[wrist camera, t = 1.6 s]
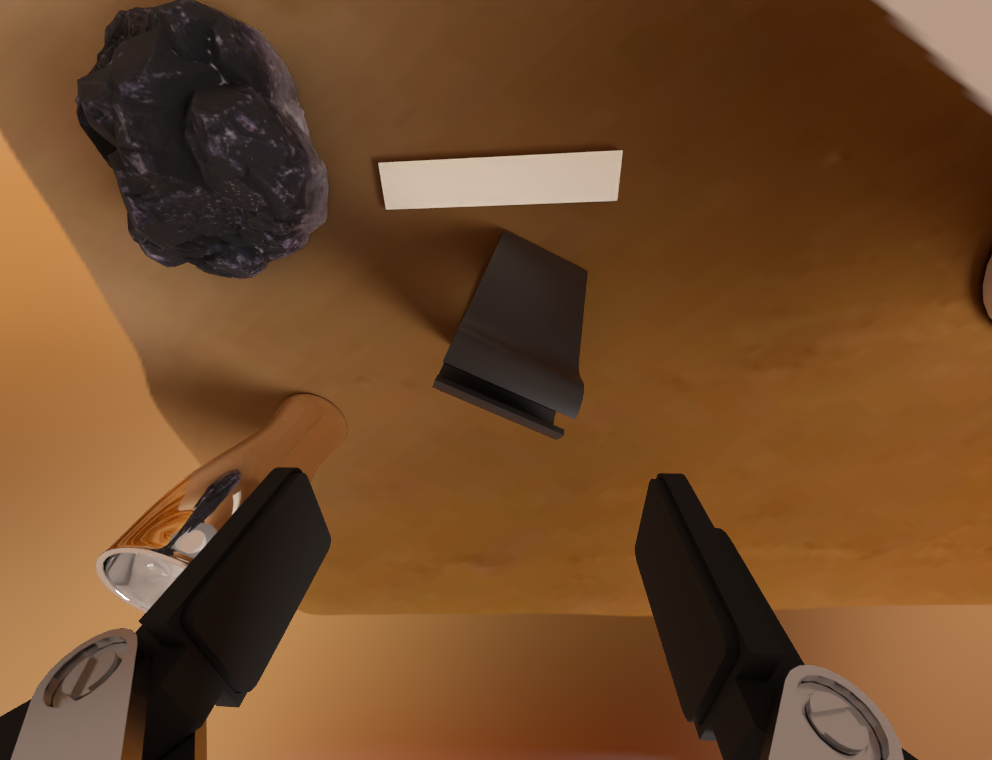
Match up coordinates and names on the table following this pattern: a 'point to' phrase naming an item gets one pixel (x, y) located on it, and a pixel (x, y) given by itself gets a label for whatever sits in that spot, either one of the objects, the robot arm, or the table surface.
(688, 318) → the table surface
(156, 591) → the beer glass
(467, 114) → the table surface
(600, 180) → the cream panel
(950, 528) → the table surface
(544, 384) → the phone stand
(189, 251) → the black rock
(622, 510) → the table surface
